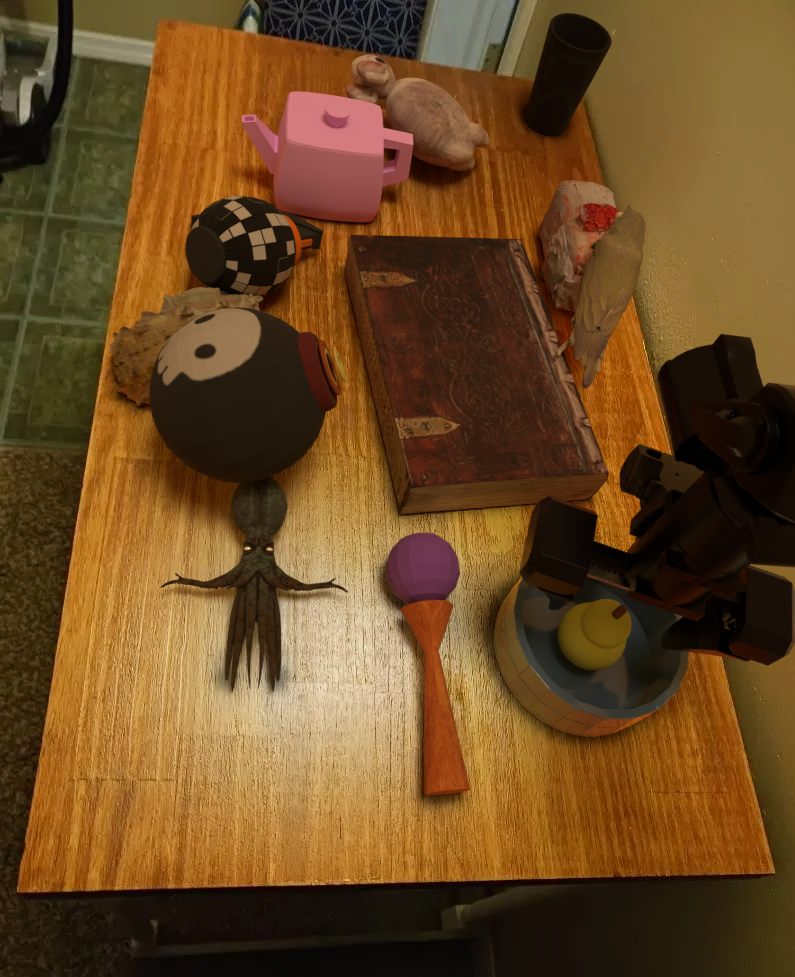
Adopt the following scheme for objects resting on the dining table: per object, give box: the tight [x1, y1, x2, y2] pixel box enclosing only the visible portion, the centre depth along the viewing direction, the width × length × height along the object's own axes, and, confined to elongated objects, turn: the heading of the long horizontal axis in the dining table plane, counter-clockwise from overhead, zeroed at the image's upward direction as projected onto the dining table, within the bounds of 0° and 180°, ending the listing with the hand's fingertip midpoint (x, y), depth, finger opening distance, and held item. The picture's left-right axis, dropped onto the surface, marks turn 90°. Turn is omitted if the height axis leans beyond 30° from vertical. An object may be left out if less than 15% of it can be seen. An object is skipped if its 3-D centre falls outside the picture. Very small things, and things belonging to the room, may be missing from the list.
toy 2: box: [345, 54, 504, 212], centre depth 91 cm, size 28×8×15 cm
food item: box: [537, 179, 622, 314], centre depth 87 cm, size 14×8×10 cm, turn 5°
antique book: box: [344, 234, 610, 515], centre depth 78 cm, size 29×19×5 cm, turn 12°
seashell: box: [109, 286, 264, 407], centre depth 72 cm, size 11×14×10 cm
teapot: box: [241, 90, 413, 223], centre depth 86 cm, size 18×10×10 cm, turn 92°
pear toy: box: [558, 599, 632, 670], centre depth 64 cm, size 5×5×9 cm
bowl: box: [493, 576, 690, 738], centre depth 66 cm, size 14×14×6 cm
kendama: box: [384, 532, 471, 796], centre depth 63 cm, size 6×6×20 cm
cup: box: [524, 12, 613, 137], centre depth 101 cm, size 8×8×12 cm
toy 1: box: [149, 307, 347, 484], centre depth 63 cm, size 14×14×15 cm
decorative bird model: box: [556, 204, 647, 390], centre depth 78 cm, size 5×20×5 cm, turn 164°
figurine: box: [160, 476, 349, 693], centre depth 64 cm, size 14×6×18 cm
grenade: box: [184, 195, 324, 298], centre depth 79 cm, size 11×10×15 cm
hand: (607, 623), depth 63 cm, fingers open, 9 cm apart
